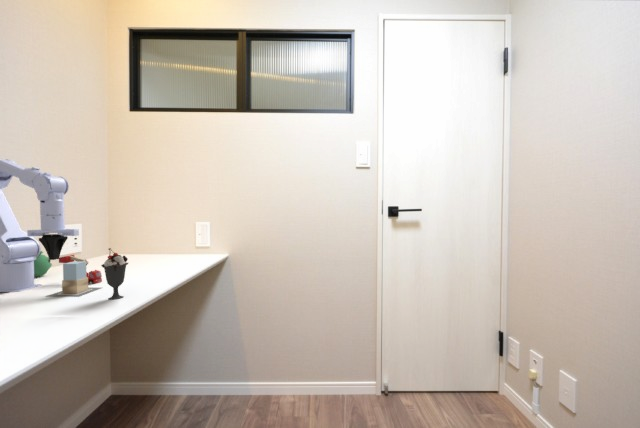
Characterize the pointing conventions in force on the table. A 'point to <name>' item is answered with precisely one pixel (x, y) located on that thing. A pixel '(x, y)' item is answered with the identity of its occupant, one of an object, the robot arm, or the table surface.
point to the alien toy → (41, 265)
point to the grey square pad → (59, 294)
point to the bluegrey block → (74, 270)
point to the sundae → (115, 272)
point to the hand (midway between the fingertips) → (54, 259)
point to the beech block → (74, 286)
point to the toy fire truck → (92, 276)
